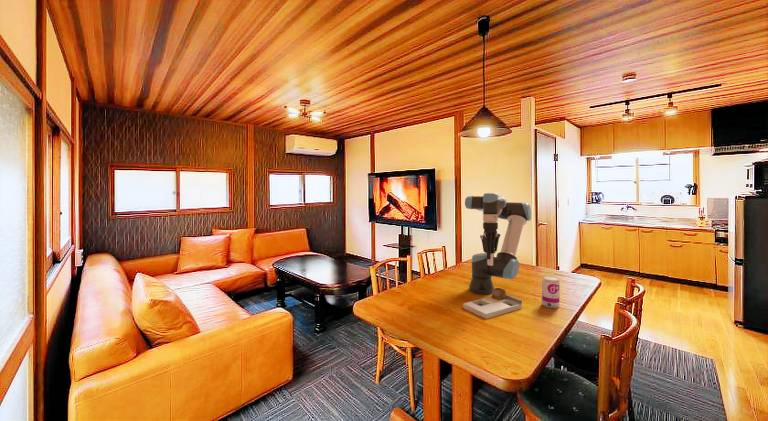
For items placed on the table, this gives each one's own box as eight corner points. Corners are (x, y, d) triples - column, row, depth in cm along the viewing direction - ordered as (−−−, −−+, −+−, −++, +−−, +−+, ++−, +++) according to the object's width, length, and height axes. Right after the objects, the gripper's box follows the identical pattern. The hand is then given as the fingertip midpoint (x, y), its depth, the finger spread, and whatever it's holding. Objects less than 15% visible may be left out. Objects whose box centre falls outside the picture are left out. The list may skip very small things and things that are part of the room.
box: (486, 318, 149) (486, 310, 149) (463, 307, 163) (463, 299, 163) (521, 308, 161) (521, 300, 161) (497, 299, 175) (497, 291, 175)
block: (499, 300, 166) (499, 291, 165) (491, 297, 170) (491, 289, 170) (505, 298, 168) (505, 290, 168) (498, 296, 173) (498, 287, 172)
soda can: (561, 309, 159) (562, 281, 158) (544, 308, 161) (545, 280, 160) (556, 303, 167) (556, 276, 166) (539, 302, 169) (540, 276, 168)
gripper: (486, 223, 156) (486, 268, 158) (504, 221, 162) (504, 264, 164) (476, 222, 163) (476, 265, 165) (493, 220, 169) (493, 262, 171)
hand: (490, 265), depth 164 cm, fingers closed
